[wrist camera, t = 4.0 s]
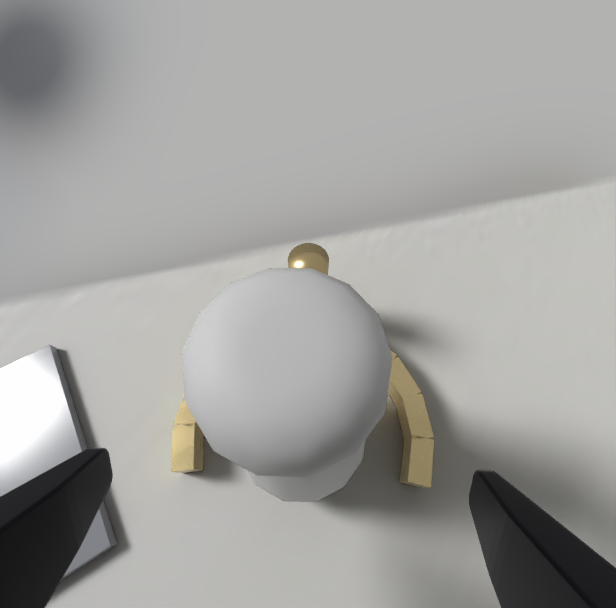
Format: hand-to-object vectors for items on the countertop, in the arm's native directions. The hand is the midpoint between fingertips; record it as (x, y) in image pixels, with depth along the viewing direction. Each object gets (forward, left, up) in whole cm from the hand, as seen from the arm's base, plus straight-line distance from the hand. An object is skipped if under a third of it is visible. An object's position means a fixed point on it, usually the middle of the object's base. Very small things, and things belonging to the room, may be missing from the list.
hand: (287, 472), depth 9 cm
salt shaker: (+2, -1, -10) cm, 10 cm away
